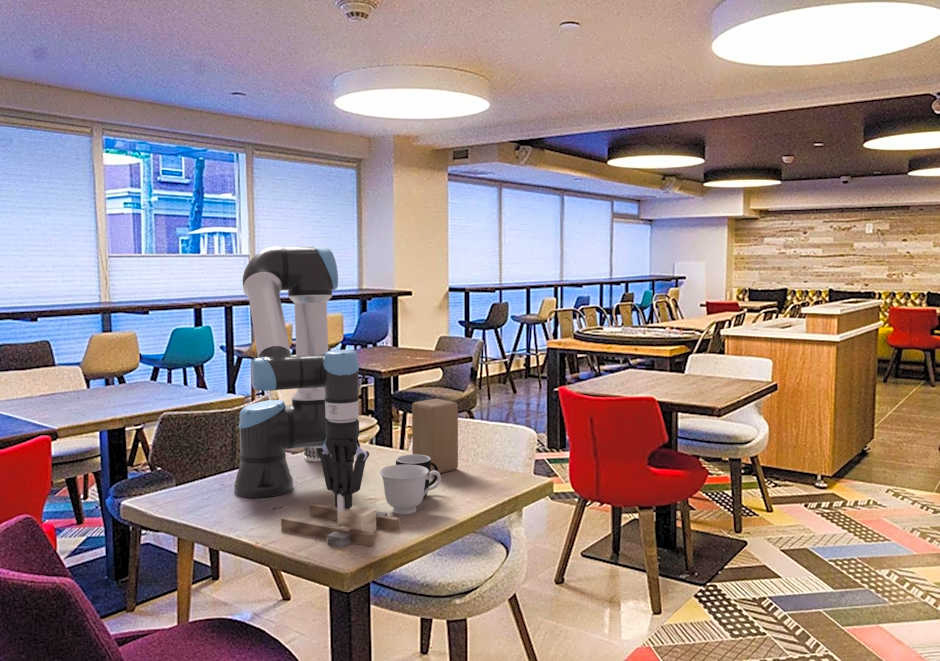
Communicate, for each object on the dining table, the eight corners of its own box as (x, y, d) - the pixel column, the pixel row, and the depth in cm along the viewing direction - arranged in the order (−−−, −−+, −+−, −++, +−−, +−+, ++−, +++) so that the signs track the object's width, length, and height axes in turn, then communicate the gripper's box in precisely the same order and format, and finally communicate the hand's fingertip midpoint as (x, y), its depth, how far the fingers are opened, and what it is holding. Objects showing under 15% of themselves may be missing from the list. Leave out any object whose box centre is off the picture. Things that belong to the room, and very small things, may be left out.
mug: (407, 504, 190) (407, 465, 189) (389, 495, 198) (389, 457, 197) (447, 496, 197) (447, 457, 196) (428, 487, 204) (428, 450, 204)
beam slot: (272, 533, 170) (272, 521, 170) (321, 509, 186) (321, 498, 186) (362, 551, 160) (362, 538, 160) (406, 524, 176) (405, 512, 176)
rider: (338, 535, 170) (338, 513, 169) (354, 526, 175) (353, 505, 175) (361, 539, 167) (361, 517, 167) (376, 530, 172) (376, 509, 172)
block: (437, 463, 229) (437, 397, 228) (459, 469, 222) (459, 402, 220) (411, 469, 223) (410, 401, 221) (433, 476, 215) (432, 406, 213)
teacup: (442, 518, 180) (441, 476, 179) (378, 519, 179) (378, 478, 178) (440, 502, 192) (439, 463, 191) (380, 503, 191) (380, 464, 190)
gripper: (308, 419, 170) (310, 522, 172) (357, 425, 164) (358, 531, 166) (328, 413, 176) (330, 512, 179) (375, 418, 171) (377, 520, 173)
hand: (343, 521), depth 172 cm, fingers closed
